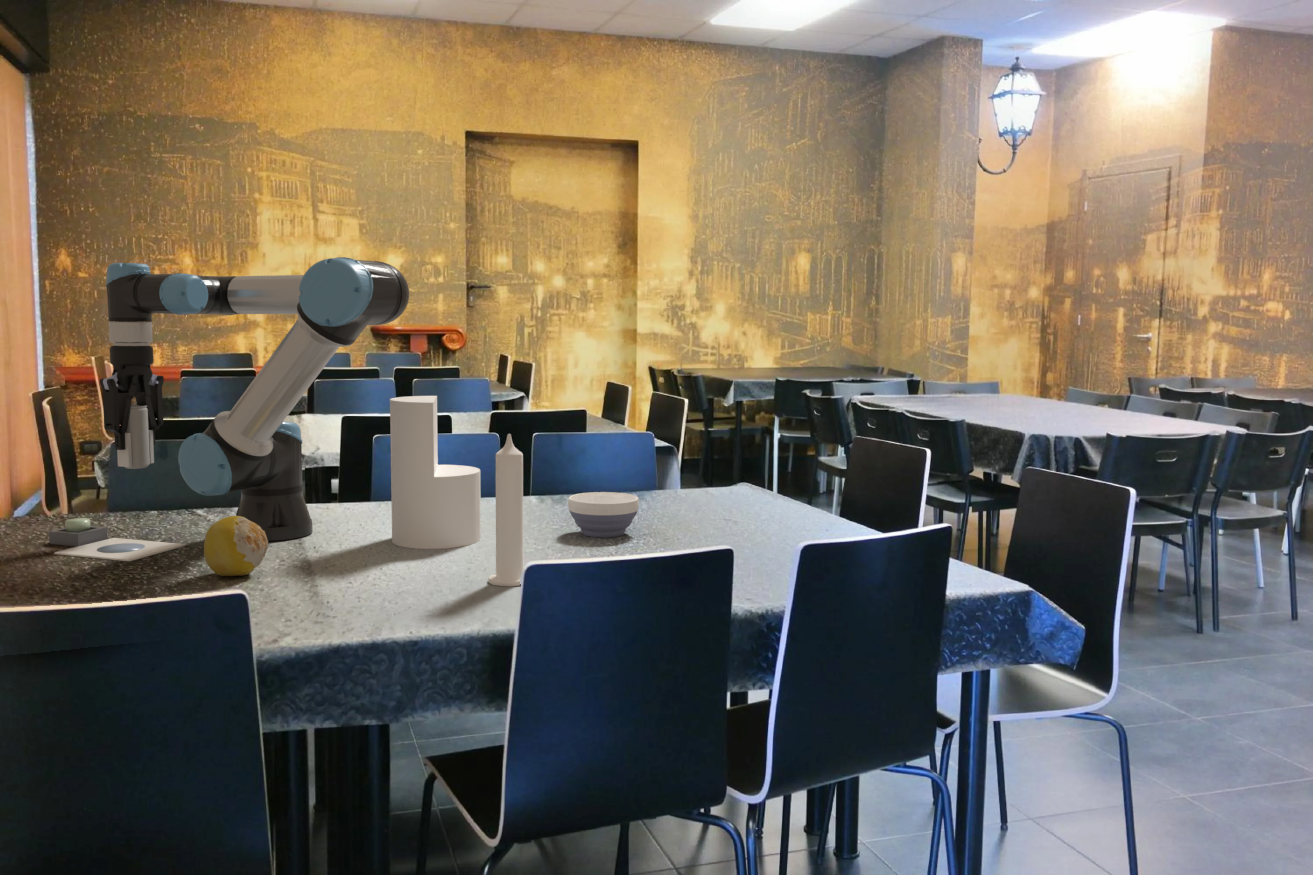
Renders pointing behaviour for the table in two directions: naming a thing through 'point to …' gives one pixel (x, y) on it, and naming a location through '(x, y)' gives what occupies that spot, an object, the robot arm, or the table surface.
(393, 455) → the white notched round column
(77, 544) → the button housing
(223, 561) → the fruit
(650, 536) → the table surface
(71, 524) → the button
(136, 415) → the beverage can
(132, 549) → the paper sheet
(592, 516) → the bowl
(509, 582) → the candle
